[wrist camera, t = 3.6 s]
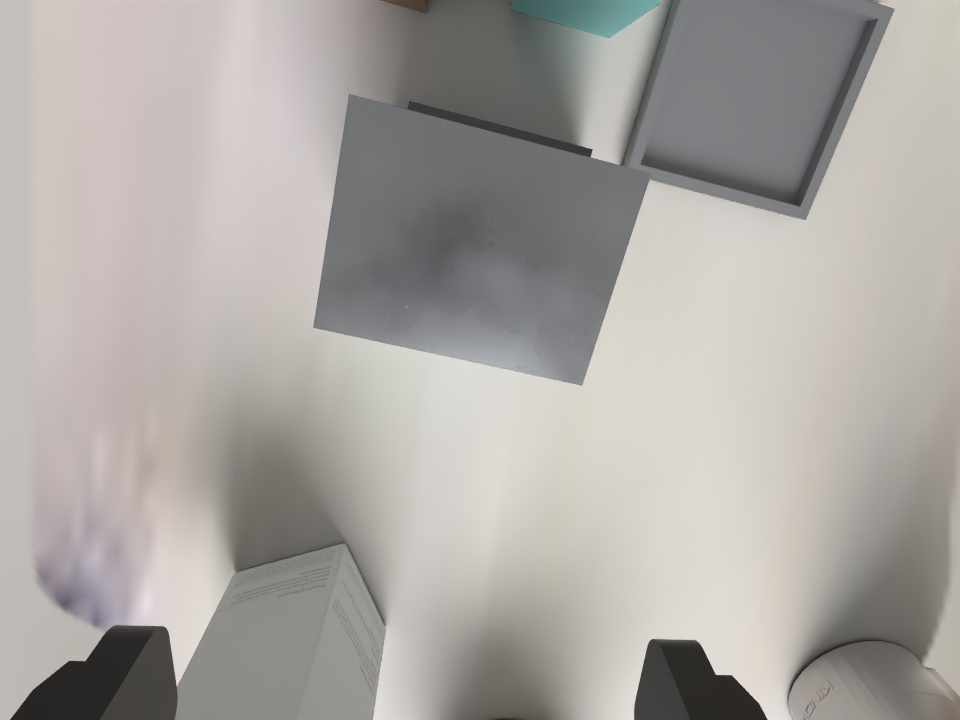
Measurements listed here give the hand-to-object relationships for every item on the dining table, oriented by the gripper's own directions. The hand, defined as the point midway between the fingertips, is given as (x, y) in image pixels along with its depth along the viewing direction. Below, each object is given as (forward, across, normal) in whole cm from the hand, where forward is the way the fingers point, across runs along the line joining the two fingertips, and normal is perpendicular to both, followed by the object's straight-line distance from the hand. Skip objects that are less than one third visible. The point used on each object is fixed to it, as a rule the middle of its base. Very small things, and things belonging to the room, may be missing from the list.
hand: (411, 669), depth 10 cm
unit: (+22, -1, -5) cm, 22 cm away
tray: (+22, -13, -11) cm, 28 cm away
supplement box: (+22, +7, +19) cm, 30 cm away
